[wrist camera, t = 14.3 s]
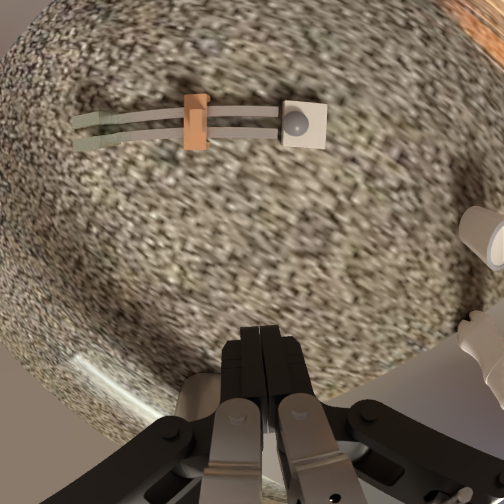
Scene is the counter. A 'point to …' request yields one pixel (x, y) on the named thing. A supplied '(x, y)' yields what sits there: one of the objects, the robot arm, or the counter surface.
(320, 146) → the block
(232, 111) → the leg
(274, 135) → the leg
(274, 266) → the counter surface
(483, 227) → the shot glass
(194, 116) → the stepped wooden block
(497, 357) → the water bottle
